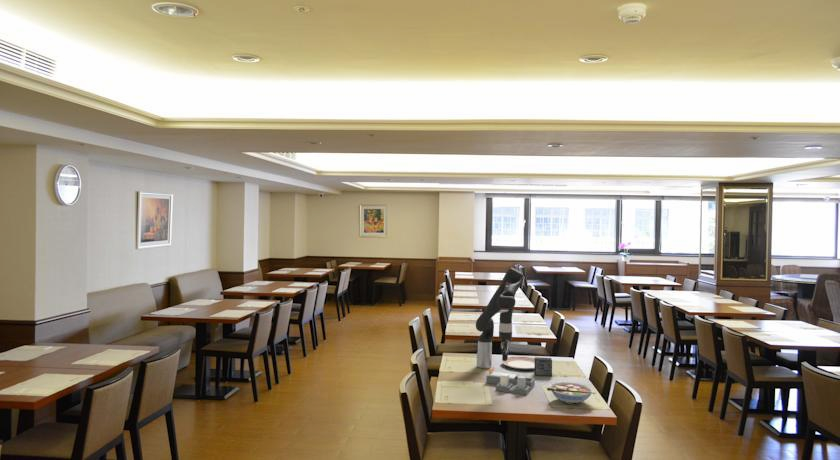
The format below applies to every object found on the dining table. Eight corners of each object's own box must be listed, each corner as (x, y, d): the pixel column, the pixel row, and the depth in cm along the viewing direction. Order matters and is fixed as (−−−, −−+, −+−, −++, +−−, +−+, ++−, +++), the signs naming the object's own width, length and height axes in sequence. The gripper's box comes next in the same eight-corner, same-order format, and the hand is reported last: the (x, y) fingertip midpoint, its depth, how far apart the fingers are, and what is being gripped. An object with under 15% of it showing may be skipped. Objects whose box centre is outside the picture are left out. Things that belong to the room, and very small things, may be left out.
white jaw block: (500, 387, 312) (500, 375, 311) (502, 385, 315) (502, 373, 315) (506, 388, 310) (507, 376, 310) (508, 386, 314) (509, 374, 313)
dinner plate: (543, 373, 348) (543, 368, 348) (500, 370, 353) (500, 365, 353) (542, 362, 374) (542, 357, 374) (502, 359, 380) (502, 355, 380)
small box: (550, 373, 347) (551, 357, 347) (552, 376, 340) (552, 360, 340) (534, 372, 348) (534, 356, 348) (535, 375, 341) (535, 359, 341)
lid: (487, 375, 325) (487, 369, 325) (491, 372, 332) (491, 366, 332) (513, 379, 318) (513, 373, 318) (517, 375, 325) (517, 369, 325)
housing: (480, 388, 314) (480, 373, 314) (490, 379, 333) (490, 365, 332) (526, 394, 303) (527, 379, 303) (534, 385, 321) (534, 371, 321)
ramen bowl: (592, 397, 301) (593, 382, 301) (596, 411, 279) (596, 395, 279) (546, 393, 307) (547, 378, 307) (546, 406, 285) (547, 391, 285)
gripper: (502, 327, 320) (501, 356, 320) (495, 332, 307) (495, 362, 307) (514, 329, 317) (514, 358, 317) (508, 333, 304) (508, 363, 304)
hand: (504, 360), depth 312 cm, fingers closed
